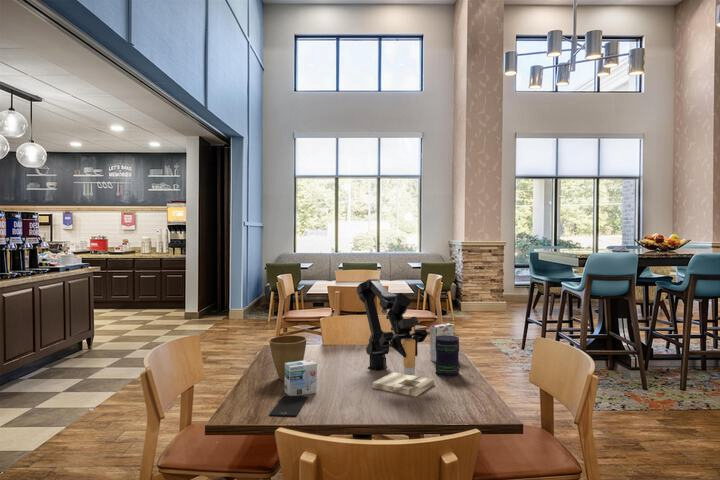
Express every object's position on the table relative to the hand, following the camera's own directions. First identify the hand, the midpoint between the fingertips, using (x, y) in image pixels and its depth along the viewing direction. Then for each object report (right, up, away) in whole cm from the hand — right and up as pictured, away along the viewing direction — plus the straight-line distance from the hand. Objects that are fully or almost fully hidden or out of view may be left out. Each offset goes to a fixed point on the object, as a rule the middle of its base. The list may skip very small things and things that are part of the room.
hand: (411, 356), depth 170 cm
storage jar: (+17, -12, +20) cm, 29 cm away
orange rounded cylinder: (-1, -7, +1) cm, 7 cm away
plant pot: (-48, -13, +14) cm, 52 cm away
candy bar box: (+19, -12, +41) cm, 47 cm away
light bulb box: (-41, -13, -3) cm, 43 cm away
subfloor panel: (-2, -12, +4) cm, 13 cm away
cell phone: (-43, -13, -17) cm, 48 cm away
